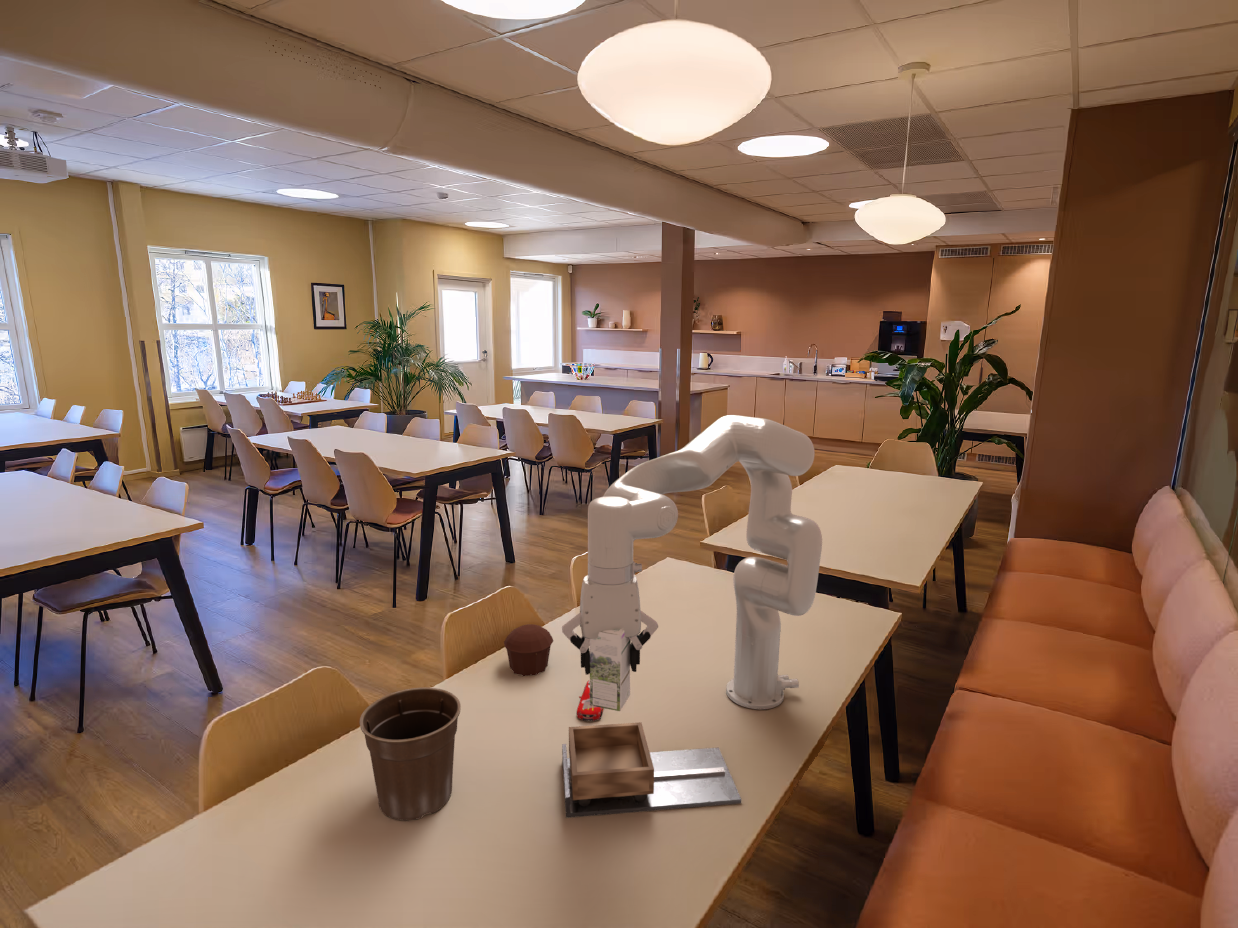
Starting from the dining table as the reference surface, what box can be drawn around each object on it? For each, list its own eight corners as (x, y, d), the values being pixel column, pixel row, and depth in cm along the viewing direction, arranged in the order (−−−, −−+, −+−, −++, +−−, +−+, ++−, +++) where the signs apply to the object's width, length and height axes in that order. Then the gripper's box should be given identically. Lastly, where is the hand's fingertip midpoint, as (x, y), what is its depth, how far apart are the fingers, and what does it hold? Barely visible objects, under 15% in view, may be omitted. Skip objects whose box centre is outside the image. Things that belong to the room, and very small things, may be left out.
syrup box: (631, 695, 116) (632, 618, 113) (620, 713, 110) (620, 632, 107) (600, 689, 117) (600, 613, 114) (588, 706, 112) (588, 627, 109)
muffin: (513, 683, 150) (512, 642, 148) (498, 662, 160) (497, 623, 158) (561, 671, 156) (560, 632, 154) (543, 651, 165) (543, 614, 163)
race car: (599, 725, 135) (599, 708, 134) (574, 723, 136) (573, 705, 135) (610, 691, 148) (610, 675, 147) (586, 689, 149) (586, 673, 148)
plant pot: (387, 764, 122) (382, 684, 119) (474, 766, 121) (471, 687, 118) (349, 829, 106) (342, 739, 103) (449, 832, 106) (444, 742, 102)
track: (718, 751, 127) (719, 733, 126) (741, 803, 113) (742, 783, 112) (562, 762, 123) (562, 743, 122) (565, 817, 109) (565, 797, 108)
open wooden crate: (640, 753, 124) (641, 722, 123) (653, 804, 111) (654, 769, 110) (568, 758, 122) (568, 726, 121) (572, 810, 109) (572, 775, 108)
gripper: (658, 561, 114) (656, 656, 117) (557, 565, 112) (558, 661, 115) (666, 577, 106) (664, 677, 110) (558, 581, 104) (560, 683, 108)
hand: (610, 668), depth 113 cm, fingers closed on syrup box, 7 cm apart
